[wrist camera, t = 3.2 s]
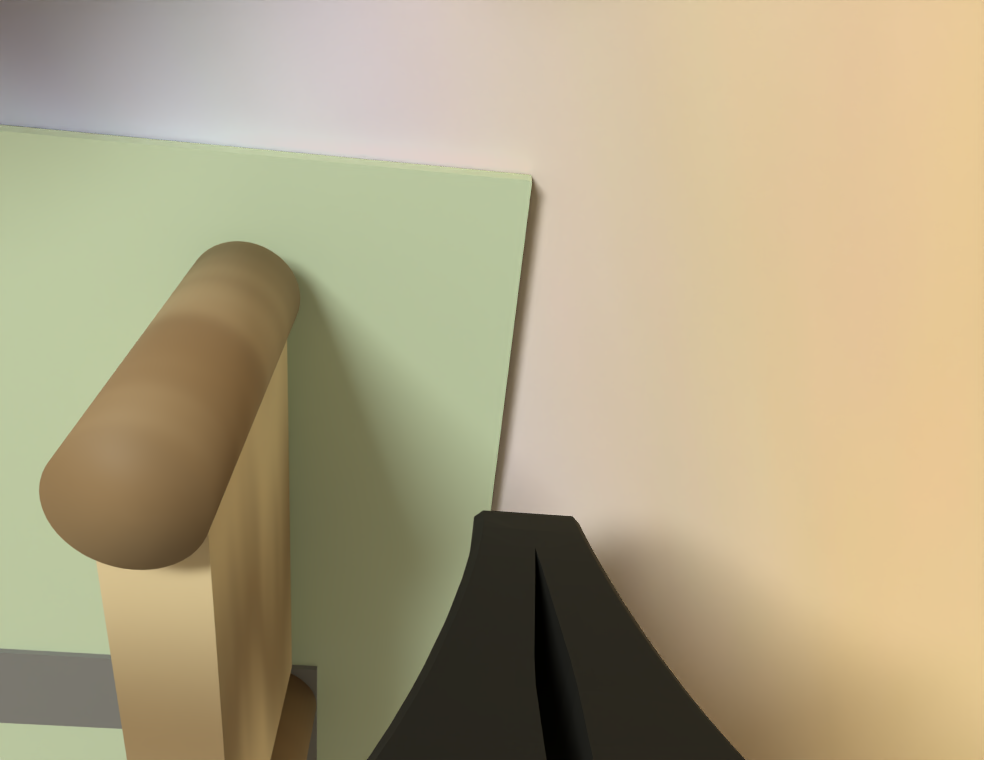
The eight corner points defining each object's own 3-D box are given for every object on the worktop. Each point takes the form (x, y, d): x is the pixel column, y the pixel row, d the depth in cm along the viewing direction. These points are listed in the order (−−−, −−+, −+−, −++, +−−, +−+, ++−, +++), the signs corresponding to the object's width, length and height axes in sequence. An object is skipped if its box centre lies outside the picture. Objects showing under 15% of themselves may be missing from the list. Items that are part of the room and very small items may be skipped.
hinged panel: (303, 667, 16) (241, 948, 12) (216, 662, 16) (123, 943, 12) (300, 246, 12) (207, 442, 8) (184, 236, 12) (27, 428, 8)
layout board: (-74, 964, 23) (-82, 981, 22) (-420, 84, 12) (-447, 91, 12) (430, 980, 23) (429, 997, 23) (530, 175, 13) (532, 182, 12)
